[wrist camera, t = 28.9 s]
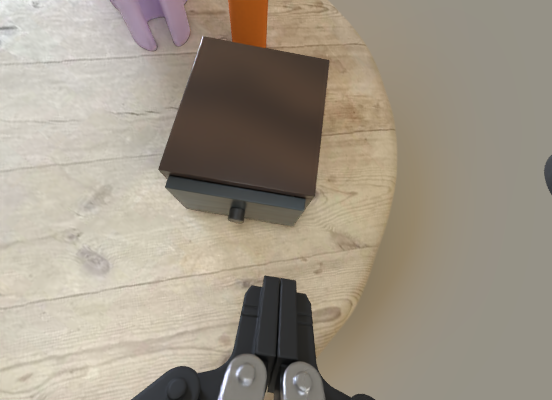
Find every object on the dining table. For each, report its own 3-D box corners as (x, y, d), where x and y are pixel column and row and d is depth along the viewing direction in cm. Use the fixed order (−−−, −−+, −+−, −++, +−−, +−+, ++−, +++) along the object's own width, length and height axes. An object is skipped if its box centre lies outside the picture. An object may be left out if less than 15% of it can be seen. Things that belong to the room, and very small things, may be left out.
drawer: (291, 236, 28) (302, 224, 21) (183, 218, 27) (160, 200, 21) (307, 121, 32) (319, 82, 26) (215, 104, 32) (204, 60, 26)
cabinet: (298, 219, 29) (314, 196, 21) (185, 200, 29) (157, 169, 21) (311, 112, 34) (329, 59, 26) (215, 94, 34) (202, 35, 25)
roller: (262, 67, 36) (265, -9, 26) (230, 61, 36) (221, -18, 26) (268, 43, 37) (272, -37, 28) (237, 37, 37) (230, -45, 28)
